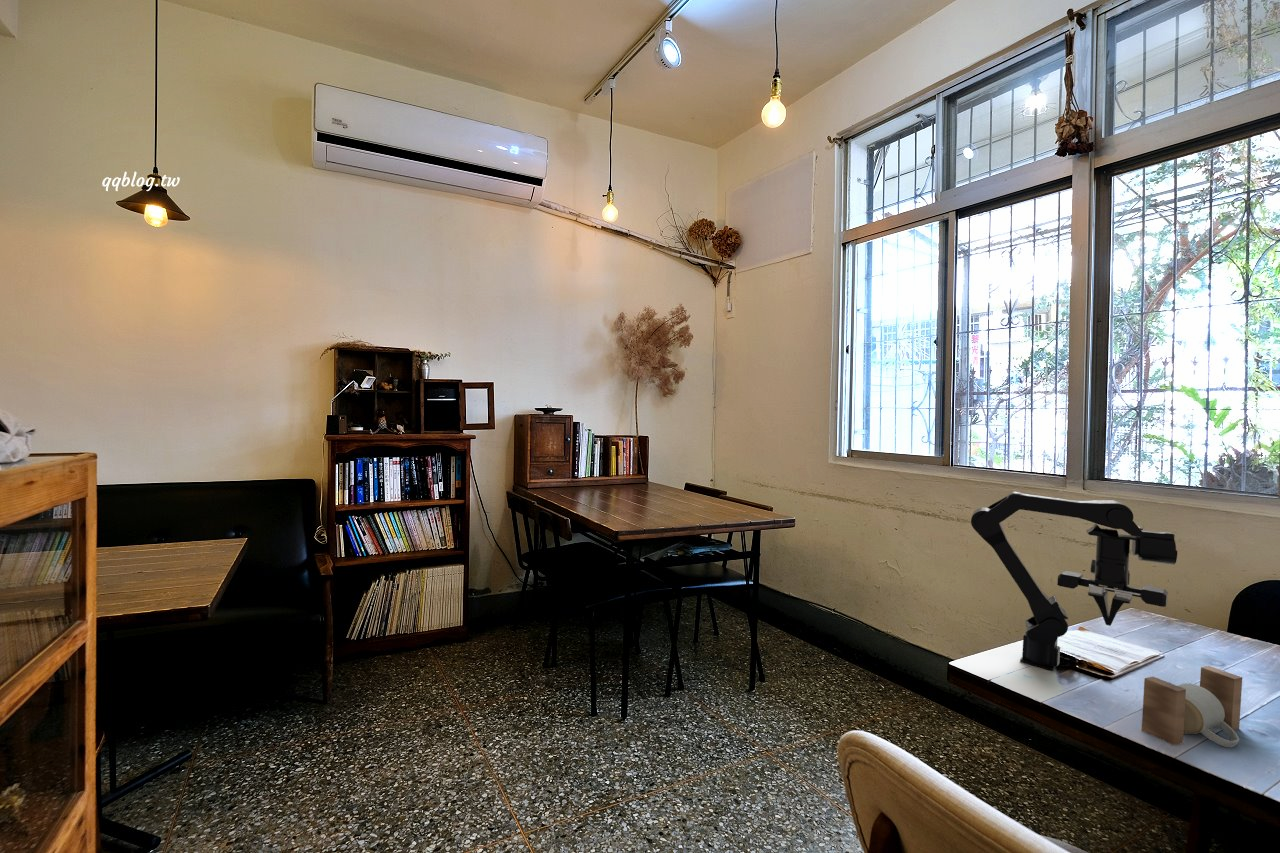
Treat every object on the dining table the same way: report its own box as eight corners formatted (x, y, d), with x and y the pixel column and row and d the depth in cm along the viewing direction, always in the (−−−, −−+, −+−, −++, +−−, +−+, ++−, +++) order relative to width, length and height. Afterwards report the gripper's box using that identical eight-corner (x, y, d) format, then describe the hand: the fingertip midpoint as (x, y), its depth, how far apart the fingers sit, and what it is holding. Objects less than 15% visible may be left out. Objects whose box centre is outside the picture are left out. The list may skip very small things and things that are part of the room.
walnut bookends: (1141, 730, 106) (1144, 678, 105) (1205, 715, 112) (1208, 665, 112) (1173, 745, 101) (1177, 691, 101) (1239, 728, 107) (1242, 677, 107)
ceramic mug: (1151, 722, 108) (1154, 684, 108) (1171, 713, 112) (1174, 676, 112) (1226, 754, 99) (1230, 712, 99) (1246, 743, 103) (1250, 703, 102)
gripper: (1171, 559, 125) (1167, 628, 126) (1067, 543, 139) (1064, 605, 139) (1167, 568, 118) (1163, 641, 118) (1058, 550, 131) (1055, 616, 132)
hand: (1108, 625), depth 127 cm, fingers closed
